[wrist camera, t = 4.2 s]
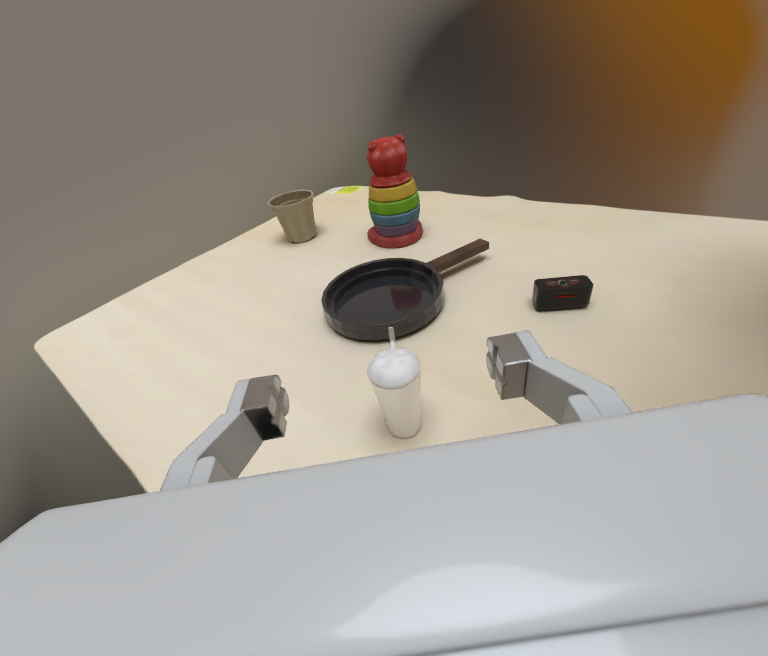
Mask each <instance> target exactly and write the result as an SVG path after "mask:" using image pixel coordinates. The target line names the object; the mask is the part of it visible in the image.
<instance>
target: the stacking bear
mask: <svg viewBox="0 0 768 656" xmlns="http://www.w3.org/2000/svg"><path fill="white" fill-rule="evenodd" d="M404 142H405V139H404V137H403V136H402V135H400V134H398V135H396V136H395V137H384V138H380V139H378V140H376V141H374V140H373V141H371V142H370V143H369V145H368V153H367V160H368V164H369V166H370V168H371V170H372V171H373V173H374V175H373V176H372V178H371V181H370V186H369V199H368V202H369V210H370V215H371V218H372V221H373V223H374V227H372V228H370V229H369V231H368V238H369V240H370V241H371V242H373V243H374V244H376V245H379V246H382V247H387V248H398V247H404V246H407V245H410V244H412V243H414V242H416V241H417V240H419V239H420V237H421V235H422V232H423V230H422V225H421V223H420V221H419V220H418V219H419V212H420V203H419V202H420V200H419V195H418V191H417V190H416V185H415V182H414V179H413V178H412V177H411V175H410V174H409V172H408V171H406V170H405V169H404V168H405V166H406V162H407V151H406V148H405V146H404Z"/></svg>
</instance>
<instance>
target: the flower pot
mask: <svg viewBox="0 0 768 656" xmlns="http://www.w3.org/2000/svg"><path fill="white" fill-rule="evenodd" d="M312 197H313V192H312V191H310V190H296V191H291V192H287V193H283V194H281V195H278V196H276V197H273V198H272V199H271V200H269V201H268V205H269V206H270V207H271V208H272V210H273V212H274V213H275V214H276V216H277V218H278V220H279V222H280V224H281V226H282V228H283V230H284V232H285V234H286V236H287V238H288V240H289V241H290V242H295V243H300V242H304V241H308V240H310V239H311V238H312V237H314V236H315V235H316V228H315V221H314V213H313V206H312V203H313V198H312Z"/></svg>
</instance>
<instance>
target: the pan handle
mask: <svg viewBox="0 0 768 656" xmlns="http://www.w3.org/2000/svg"><path fill="white" fill-rule="evenodd" d="M488 249H489V242H487V241H485V240H483V239H478V240H476V241H474V242H472V243H469V244H467V245H465V246H463V247H461V248H458V249H456V250H454V251H452V252H449V253H447V254H445V255H443V256H441V257H438V258H436V259H434V260H432V261H430V262H427V263H426V264H428V265H429V266H431V267H433V268H435V269H436V270H437V271H438V272H441V271H443V270H445V269H447V268H449V267H451V266H453V265H456V264H458V263H460V262H462V261H464V260H466V259H468V258H471V257H473V256H475V255H477V254H479V253H481V252H483V251H485V250H488ZM424 272H426V273H428V274H429V275H431V274H430V269H429V268H427V267H426V266H424Z"/></svg>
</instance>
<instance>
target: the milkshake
mask: <svg viewBox="0 0 768 656" xmlns="http://www.w3.org/2000/svg"><path fill="white" fill-rule="evenodd" d="M388 331H389V338H390V346H391V348H390V349H386V350H383V351H380V352H379V353H378V354H376V355H375V356H374V357H373V358H372V360H371V361H370V363H369V365H368V370H367V373H368V377H369V379H370V382H371V384H372V386H373V389H374V391H375V393H376V396H377V398H378V401H379V404H380V407H381V409H382V412H383V415H384V417H385V420H386V423H387V425H388V428H389V430H390V431H391V432H392V433H393V434H394V436H395V437H400V438H405V439H406V438H408V437H411V436H414V435H416V433H417V432H418V431H419V429H420V428H421V415H420V361H419V358H418V357H417V356H416V355H415V354H414V353H412V352H411V351H409V350H408V349H404V348H396V343H395V336H394V329H393V327H389V328H388Z"/></svg>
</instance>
